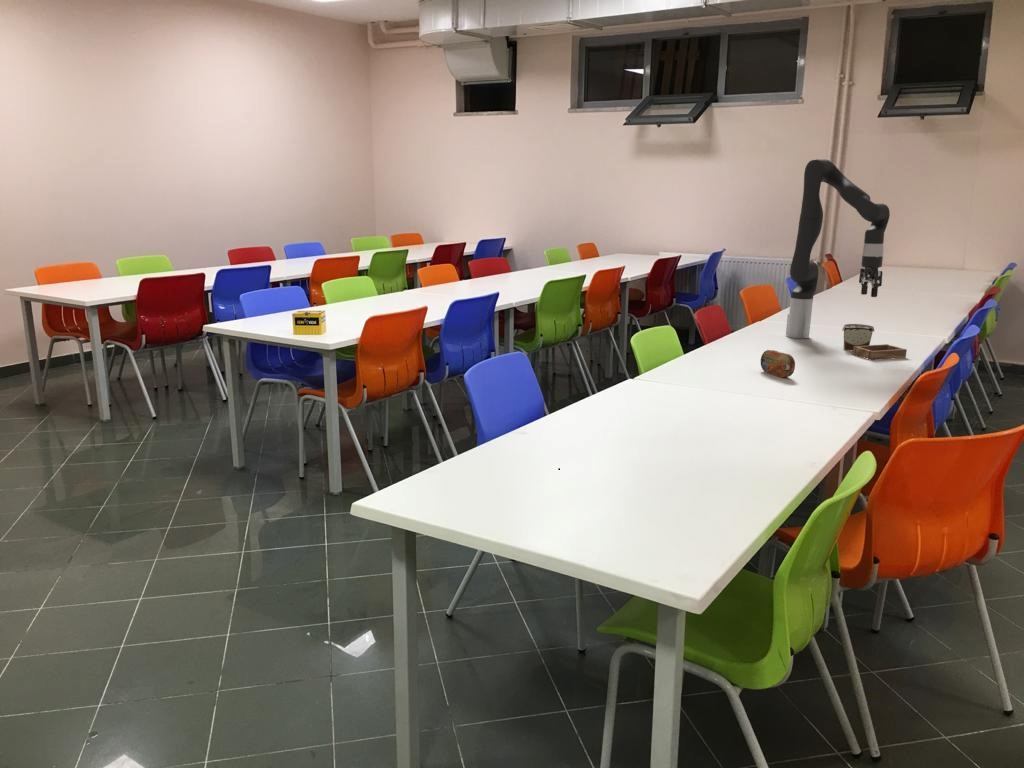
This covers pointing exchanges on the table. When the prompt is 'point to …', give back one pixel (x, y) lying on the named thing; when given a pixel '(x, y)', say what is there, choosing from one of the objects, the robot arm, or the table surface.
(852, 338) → the food container
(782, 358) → the tin
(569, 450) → the table surface
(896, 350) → the holder
